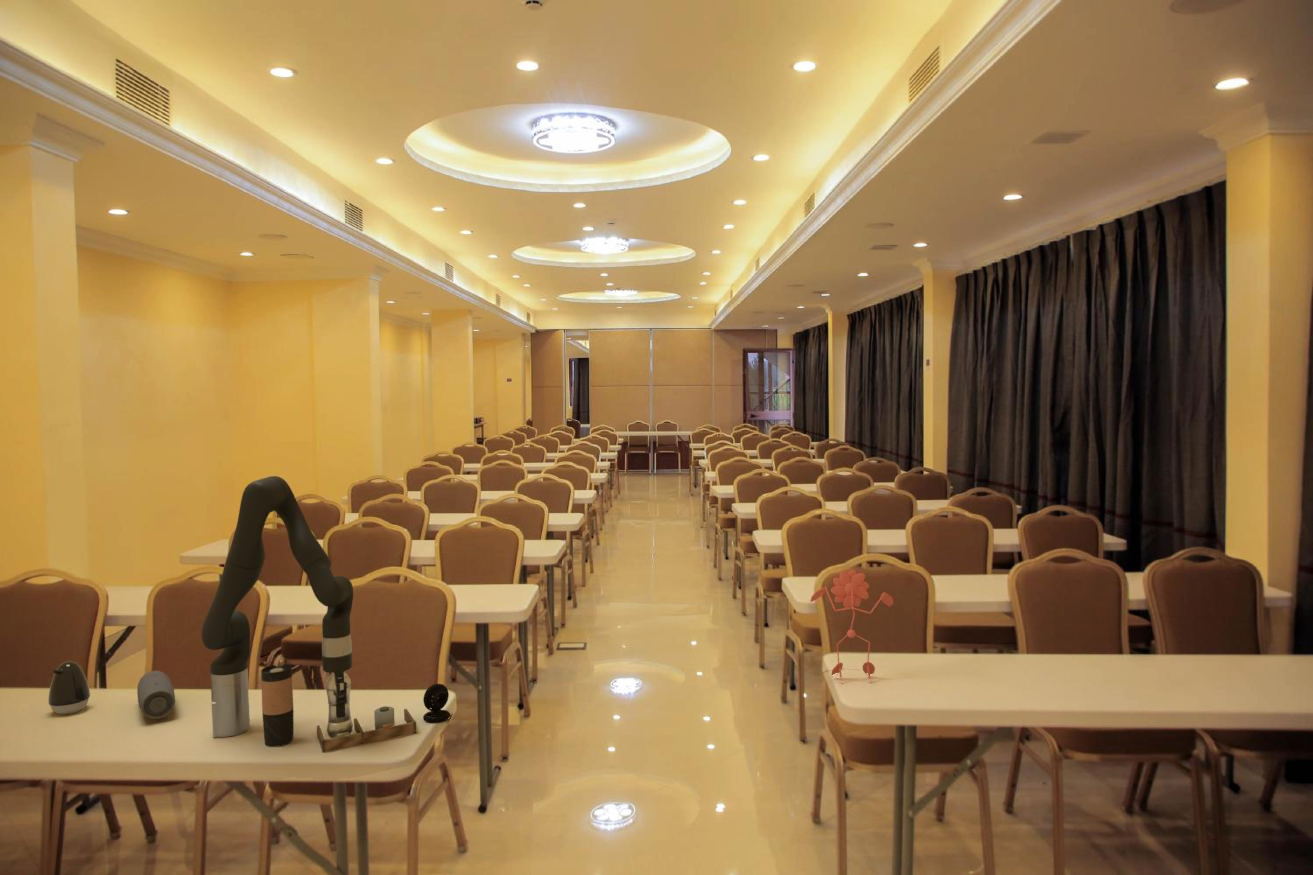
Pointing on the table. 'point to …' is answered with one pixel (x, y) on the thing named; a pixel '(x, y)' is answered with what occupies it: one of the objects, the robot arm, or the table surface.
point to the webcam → (436, 703)
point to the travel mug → (277, 705)
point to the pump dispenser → (68, 689)
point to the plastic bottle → (335, 723)
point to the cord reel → (383, 716)
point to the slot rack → (367, 734)
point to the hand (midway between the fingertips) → (339, 713)
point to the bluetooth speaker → (155, 695)
